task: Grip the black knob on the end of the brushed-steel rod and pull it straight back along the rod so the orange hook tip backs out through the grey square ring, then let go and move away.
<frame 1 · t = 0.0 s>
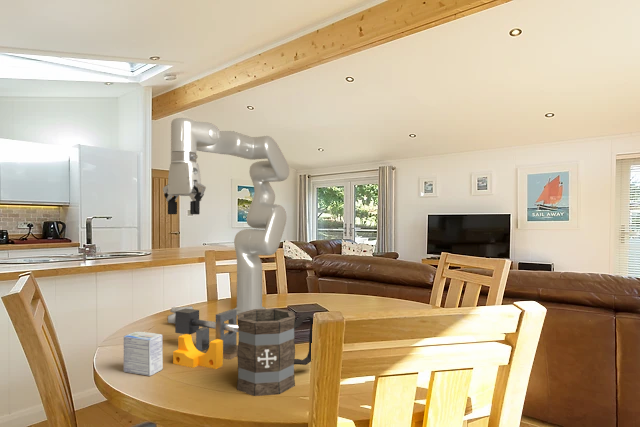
hand: (183, 214, 126), 37 cm above the table, tool pointing down, fingers open, 9 cm apart
grey square ring: (226, 352, 109), on the table
bunny figurine: (182, 323, 140), on the table
medicine box: (143, 372, 96), on the table
mug: (278, 380, 92), on the table
pipe clamp: (197, 366, 101), on the table
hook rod: (212, 324, 111), point 7 cm above the table, slide at 0.0 cm
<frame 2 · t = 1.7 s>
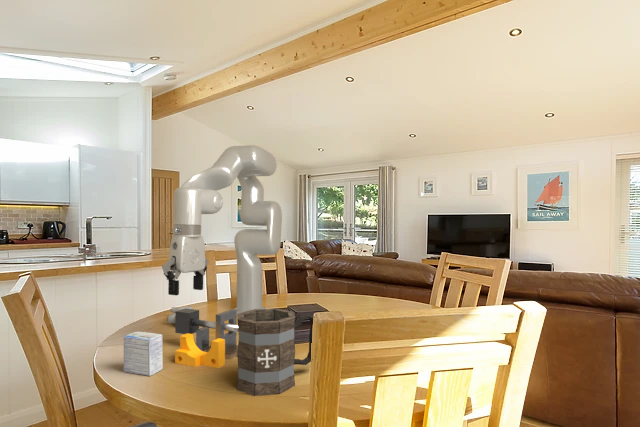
hand: (186, 292, 114), 15 cm above the table, tool pointing down, fingers open, 9 cm apart
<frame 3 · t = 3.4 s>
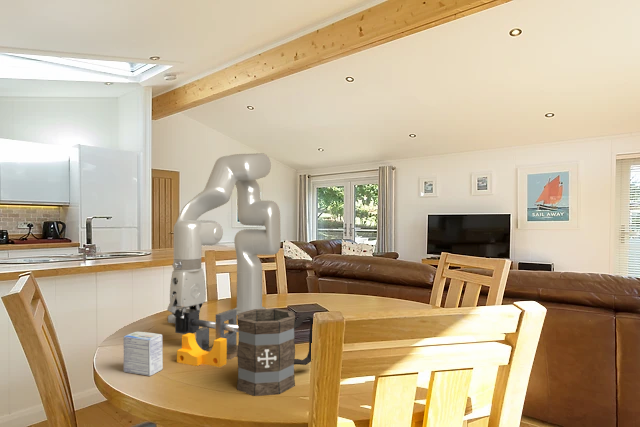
hand: (187, 329, 115), 5 cm above the table, tool pointing down, fingers closed on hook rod, 4 cm apart
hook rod: (212, 324, 111), point 7 cm above the table, slide at 0.0 cm, touching gripper
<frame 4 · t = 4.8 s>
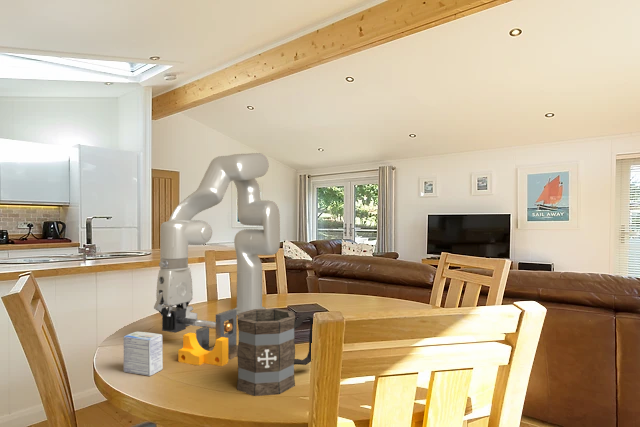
hand: (174, 327, 117), 5 cm above the table, tool pointing down, fingers closed on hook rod, 4 cm apart
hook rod: (198, 322, 113), point 7 cm above the table, slide at 4.9 cm, touching gripper
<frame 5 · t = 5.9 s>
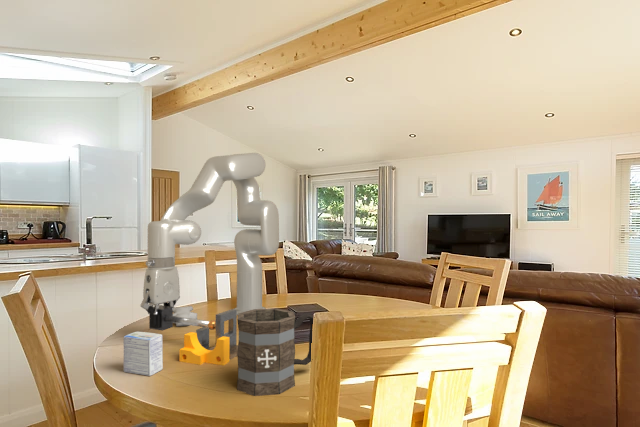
hand: (161, 325, 119), 5 cm above the table, tool pointing down, fingers closed on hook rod, 4 cm apart
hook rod: (184, 320, 115), point 7 cm above the table, slide at 9.9 cm, touching gripper
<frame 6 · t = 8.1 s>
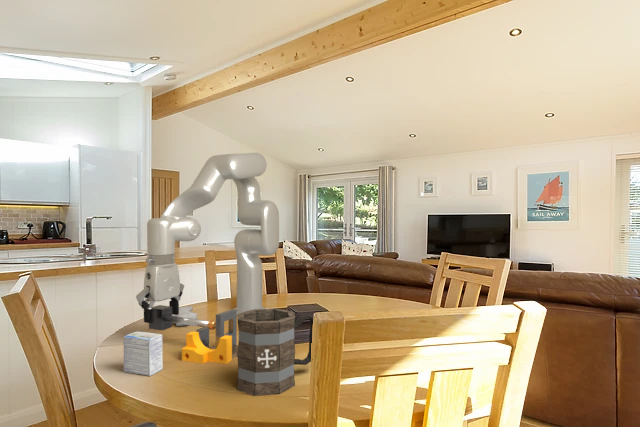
hand: (161, 318, 119), 7 cm above the table, tool pointing down, fingers open, 9 cm apart
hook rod: (183, 320, 115), point 7 cm above the table, slide at 10.0 cm
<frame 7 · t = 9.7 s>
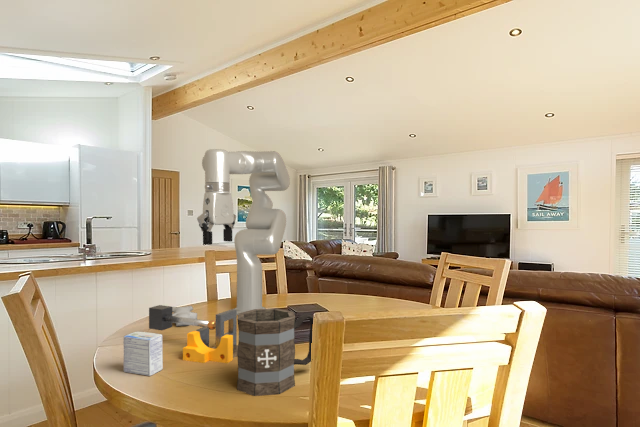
hand: (218, 242, 129), 28 cm above the table, tool pointing down, fingers open, 9 cm apart
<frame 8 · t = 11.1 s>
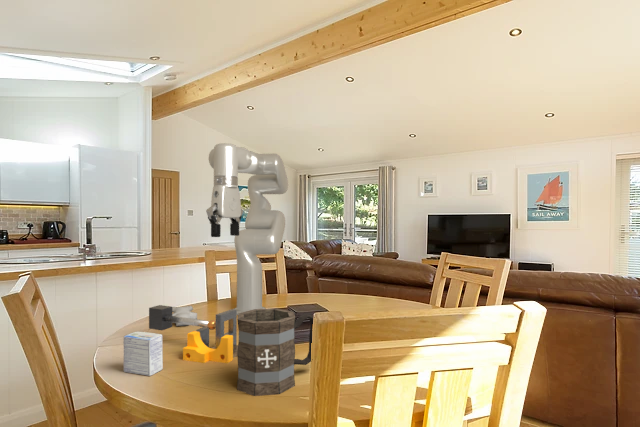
hand: (225, 236, 130), 30 cm above the table, tool pointing down, fingers open, 9 cm apart
at the end: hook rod slide at 10.0 cm; the gripper is holding nothing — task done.
